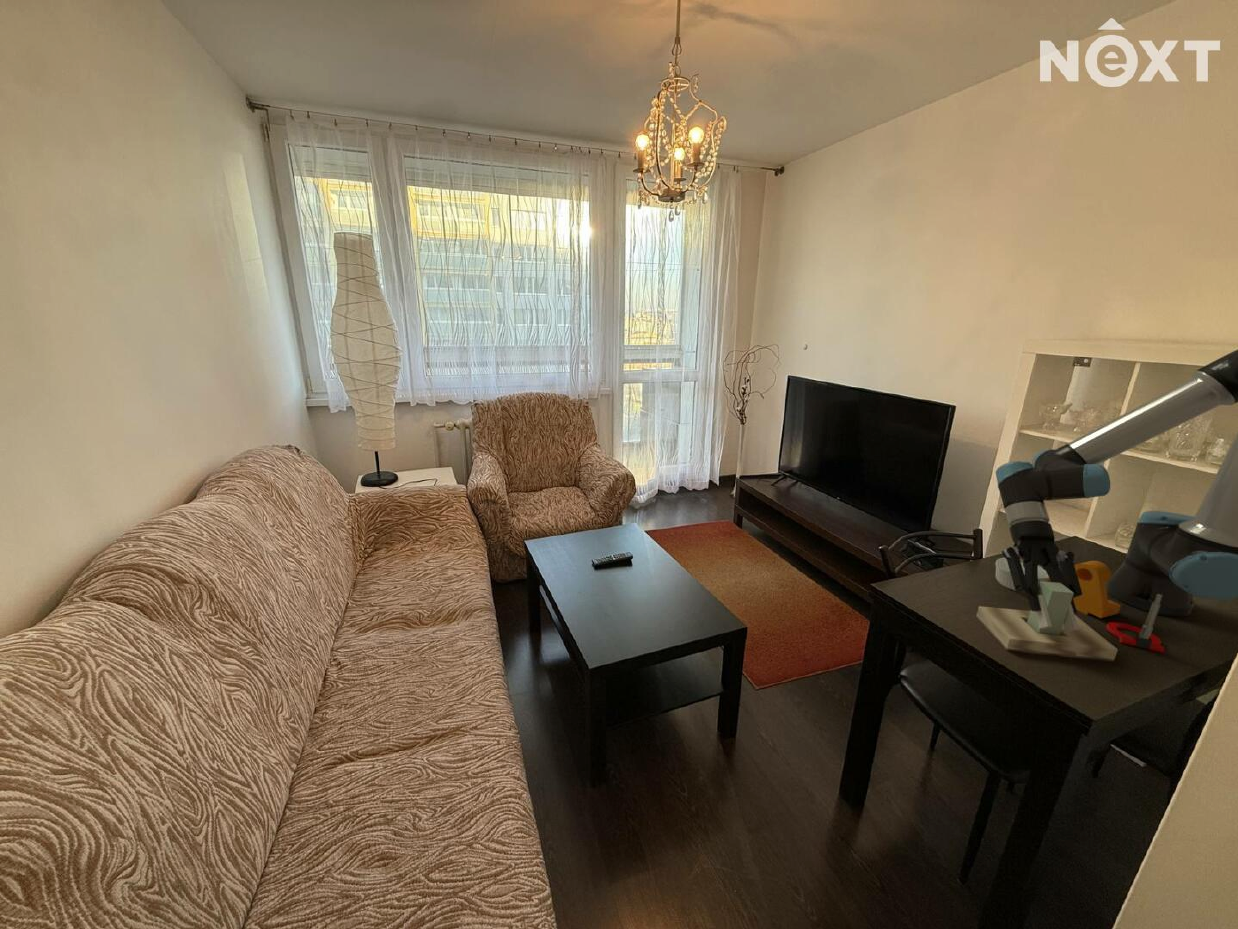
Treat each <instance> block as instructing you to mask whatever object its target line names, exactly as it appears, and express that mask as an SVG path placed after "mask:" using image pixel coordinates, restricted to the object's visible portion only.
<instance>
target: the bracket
mask: <svg viewBox="0 0 1238 929" xmlns="http://www.w3.org/2000/svg"><path fill="white" fill-rule="evenodd" d="M1074 566H1075V570H1076V573H1077V576H1078V580H1079V583H1080V587H1081V590H1082V595H1081V596H1077V597H1074V599H1073V600H1074V604H1075V607H1076V610H1077V611H1078V612H1080V613H1082V614H1085V615H1093V616H1095V617H1097V618H1099V619H1103V618H1107V617H1112V616H1113V615H1117V614H1119V612H1120V610H1121V607H1122V605H1121V604H1119V603H1117V602H1115V601H1113V600H1110V599H1109V597H1108V592H1107V589H1106V582H1108V581H1109V580H1110V578H1111V576H1112V572H1111V569H1110V568H1109V567H1108V566H1107V564H1105V562H1102V561H1099V560H1089V561H1086V562H1080V563H1076V564H1074Z"/></svg>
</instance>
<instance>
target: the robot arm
mask: <svg viewBox="0 0 1238 929" xmlns="http://www.w3.org/2000/svg"><path fill="white" fill-rule="evenodd" d="M1237 403H1238V349H1236V350H1233V351H1232V352H1230V353H1227V354H1226V355H1224V356H1221V357H1219V358H1217V359H1216V360H1213V361H1211V362H1210V363H1208V364H1206V365H1205V366H1202V367H1200V368H1199V369H1196V370H1195V371H1192V374H1191V377H1190V379H1188V380H1186V381H1184V382H1181V383H1180V384H1179V385H1176V386H1175V387H1172V388H1170V389H1169V390H1166V391H1165V392H1163V393H1162V394H1159V395H1158V396H1156V397H1154V398H1152V399H1150V400H1148V401H1146V402H1144V403H1142V404H1141V405H1139V406H1136V407H1135V408H1133V409H1130V410H1129V411H1127V412H1125V413H1123V414H1122V415H1120V416H1117V417H1116V418H1114V419H1112V420H1110V421H1108V422H1106V423H1104V424H1103V425H1101V426H1100V425H1099V427H1097V428H1095V429H1092V430H1091V431H1089V432H1088V433H1085V434H1083V435H1082V436H1080V437H1078V438H1076V439H1074V440H1072V441H1070V442H1069V443H1065V444H1064V445H1063V446H1059V447H1058V448H1053V449H1052V448H1051V449H1050V448H1048V449H1043V450H1042V451H1041V450H1040V451H1039V452H1038V453H1036V454H1035V456H1034V457H1033V459H1032V460H1031V462H1030V461H1029V462H1028V461H1021V460H1016V461H1014V460H1013V461H1011V462H1006V463H1004V464H1002V465H1000V466H999V467H998V468H997V469H996V470H995V477H996V482H997V488H998V491H999V494H1000V497H1001V502H1002V504H1003V508H1004V513H1005V516H1006V519H1007V520H1006V521H1007V524H1008V525H1009V526H1010V527H1009V532H1010V536H1011V539H1012V542H1013V543H1014V544H1013V547H1012V546H1009V547H1007V548H1005V549H1003V550H1002V551H1001V553H1002V555H1003V558H1006V560H1007V562H1008V566H1009V569H1010V573H1011V577H1012V580H1013V584H1014V587H1015V592H1016V593H1017V594H1022V596H1023V597H1024V598H1027V600H1028V604H1029V608H1030V611H1031V610H1032V611H1035V614H1036V617H1037V621H1038V625H1039V628H1041V629H1044V628H1048V627H1052V625H1051V621H1050V618H1049V614H1048V611H1047V607H1046V603H1045V600H1044V596H1043V595H1037V594H1038V566H1041V567H1042V568H1043V569H1044V570H1046V572H1047V574H1048V576H1049V578H1050V579H1049V580H1050V582H1056V583H1061V584H1063V585H1064V586H1065V587H1067V588H1068V589H1069V590H1071V591H1072V592H1073V593H1074V594H1073V597H1072V600H1071V603H1070V606H1069V609H1068V612H1067V615H1066V618H1065V621H1064V627H1065V631H1073V630H1077V629H1079V628H1078V625H1077V622H1076V618H1075V615H1077V613H1078V612H1077V611H1078V610H1076V607H1075V604H1074V600H1073V599H1074V597H1077V596H1081V595H1082V590H1081V587H1080V583H1079V580H1078V576H1077V573H1076V570H1075V566H1074V565H1075V564H1074V559H1075V553H1074V552H1073V551H1067V552H1066V551H1063V550H1060V548H1059V546H1058V545H1056V542H1055V534H1054V531H1053V530H1054V529H1053V527H1052V524H1051V523H1050V521H1051V519H1050V516H1049V513H1048V510H1047V507H1046V504H1045V502H1046V501H1047V502H1048V501H1061V500H1074V499H1075V500H1076V499H1090V498H1096V497H1103V496H1107V495H1108V494H1109V493H1110V491H1111V478H1110V475H1109V472H1108V469H1107V468H1106V467H1105V466H1104V465H1102V463H1103V462H1106V461H1108V460H1109V459H1112V458H1114V457H1116V456H1118V455H1120V454H1123V453H1124V452H1126V451H1129V450H1131V449H1133V448H1135V447H1136V446H1139V445H1141V444H1144V443H1145V442H1147V441H1149V440H1151V439H1153V438H1156V437H1157V436H1159V435H1161V434H1164V433H1165V432H1168V431H1170V430H1172V429H1174V428H1177V427H1178V426H1180V425H1182V424H1184V423H1187V422H1188V421H1190V420H1193V419H1194V418H1197V417H1198V416H1200V415H1202V414H1203V415H1204V414H1205V413H1207V412H1209V411H1211V410H1213V409H1215V408H1217V407H1219V406H1233V405H1235V404H1237ZM1234 437H1235V438H1234V439H1233V441H1232V444H1230V447H1229V449H1228V451H1227V453H1226V455H1225V456H1224V459H1223V461H1222V462H1221V465H1220V466H1219V468H1218V470H1217V472H1216V474H1215V476H1214V478H1213V480H1212V482H1211V484H1210V486H1209V488H1208V490H1207V491H1206V493H1205V495H1204V497H1203V499H1202V501H1201V502H1200V503H1201V504H1200V505H1199V507H1198V509H1197V511H1196V513H1195V515H1194V516H1192V515H1187V514H1182V513H1178V512H1170V511H1161V510H1148V511H1147V510H1146V511H1145V512H1143V513H1142V514H1141V515H1140V517H1139V519H1138V520H1137V522H1136V527H1135V529H1134V532H1133V535H1132V537H1131V541H1130V543H1129V546H1128V549H1127V551H1126V555H1125V558H1124V561H1123V562H1122V564H1121V565H1120V566H1119V567H1118V568H1117V569H1116V571H1115V572H1114V573H1113V574H1111V578H1110V580H1109V581H1108V582H1106V589H1107V594H1109V595H1110V596H1112V597H1113V598H1115V599H1117V600H1118V601H1120V602H1123V603H1125V604H1127V605H1130V606H1132V607H1135V608H1137V609H1141V610H1142V611H1146V612H1147V611H1148V612H1149V611H1150V608H1151V605H1152V603H1153V602H1154V601H1155V599H1156V596H1157V594H1162V595H1163V596H1162V598H1161V601H1160V604H1161V605H1160V608H1159V611H1158V613H1157V615H1158V614H1159V615H1162V616H1163V615H1164V616H1169V617H1187V616H1190V615H1191V613H1192V611H1193V608H1194V605H1195V602H1194V600H1193V599H1194V598H1193V597H1194V596H1195V597H1197V598H1200V599H1204V600H1211V601H1213V600H1214V601H1227V600H1228V601H1229V600H1230V599H1234V598H1238V432H1237V433H1236V435H1235V436H1234ZM1019 556H1020V557H1019ZM1021 558H1022V560H1023V567H1024V569H1025V575H1024V572H1023V568H1022V565H1021V562H1020V559H1021Z"/></svg>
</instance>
